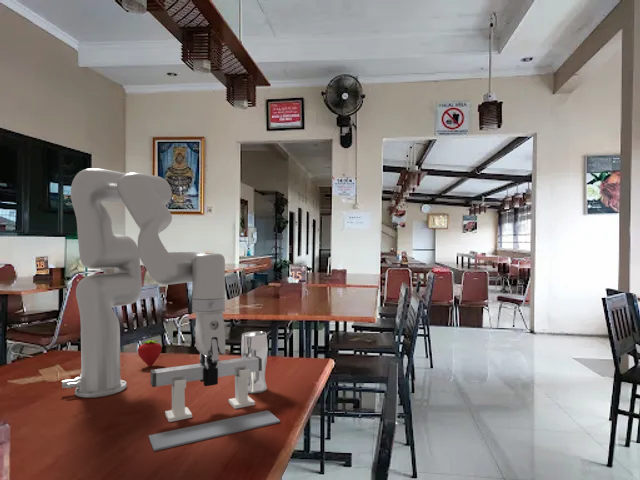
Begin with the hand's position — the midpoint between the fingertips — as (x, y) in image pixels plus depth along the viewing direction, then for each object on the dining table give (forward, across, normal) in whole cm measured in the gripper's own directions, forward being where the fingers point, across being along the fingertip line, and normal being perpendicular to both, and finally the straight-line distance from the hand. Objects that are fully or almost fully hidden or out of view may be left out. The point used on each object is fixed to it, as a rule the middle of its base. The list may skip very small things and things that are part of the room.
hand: (208, 382), depth 104 cm
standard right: (+6, -1, -8) cm, 10 cm away
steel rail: (-1, 0, 0) cm, 1 cm away
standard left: (+7, -1, +7) cm, 10 cm away
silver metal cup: (+7, +7, -14) cm, 17 cm away
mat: (+6, -13, +2) cm, 14 cm away
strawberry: (+8, +48, +7) cm, 49 cm away
